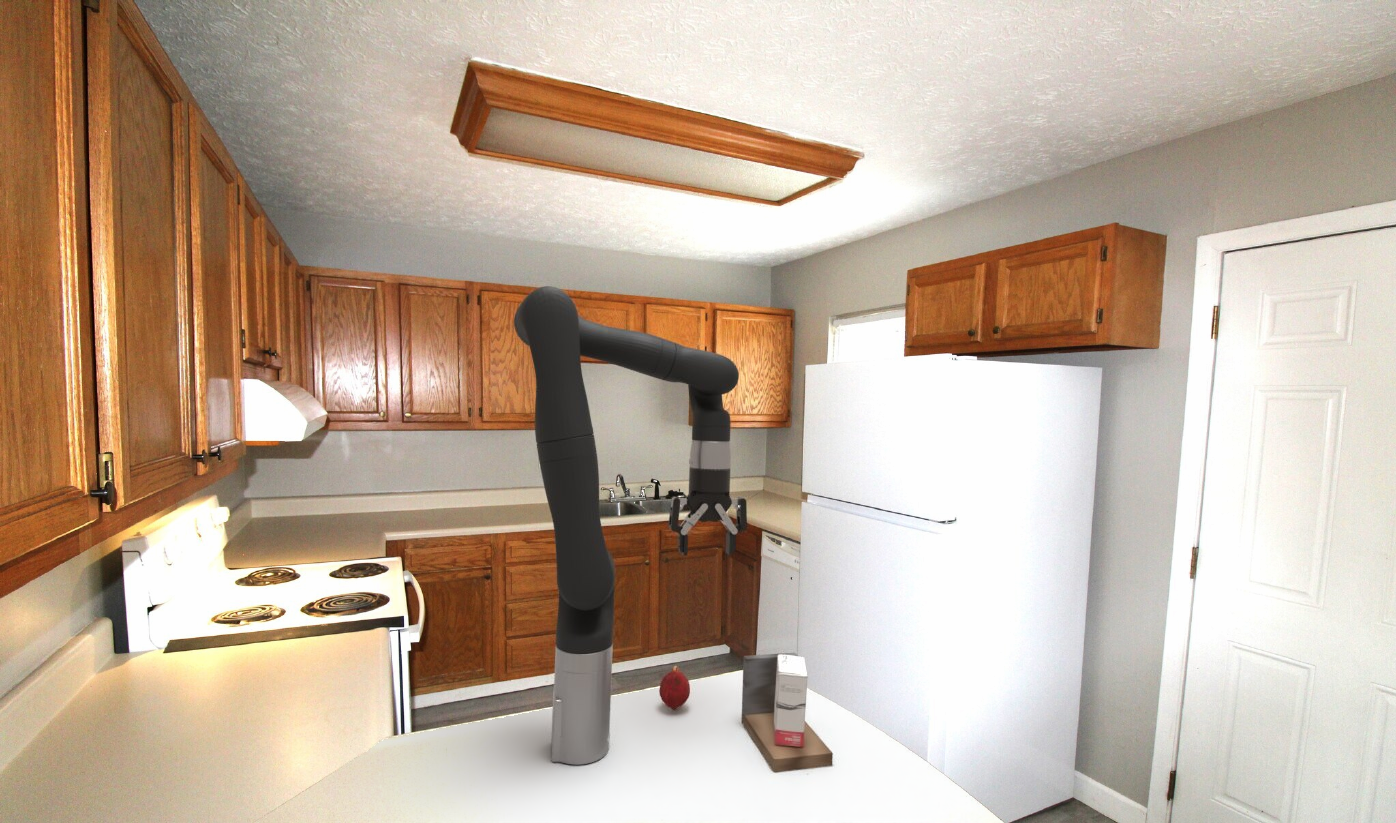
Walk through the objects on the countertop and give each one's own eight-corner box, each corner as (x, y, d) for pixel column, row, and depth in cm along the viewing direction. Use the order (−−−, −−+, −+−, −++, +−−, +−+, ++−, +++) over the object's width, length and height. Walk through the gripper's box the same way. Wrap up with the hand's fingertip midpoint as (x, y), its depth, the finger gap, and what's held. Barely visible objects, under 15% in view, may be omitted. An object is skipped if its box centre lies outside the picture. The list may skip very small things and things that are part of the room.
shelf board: (773, 772, 95) (776, 694, 95) (741, 722, 111) (743, 655, 111) (832, 765, 98) (834, 690, 98) (792, 717, 113) (794, 652, 113)
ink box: (805, 749, 99) (808, 675, 99) (774, 746, 99) (776, 672, 99) (802, 722, 107) (804, 654, 107) (773, 720, 108) (775, 652, 108)
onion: (689, 717, 112) (690, 673, 112) (657, 716, 112) (659, 672, 112) (689, 703, 118) (691, 661, 118) (659, 701, 118) (661, 660, 118)
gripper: (676, 466, 106) (673, 560, 106) (753, 468, 110) (750, 558, 110) (667, 463, 114) (664, 550, 113) (740, 464, 117) (737, 549, 117)
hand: (707, 554), depth 111 cm, fingers open, 8 cm apart
